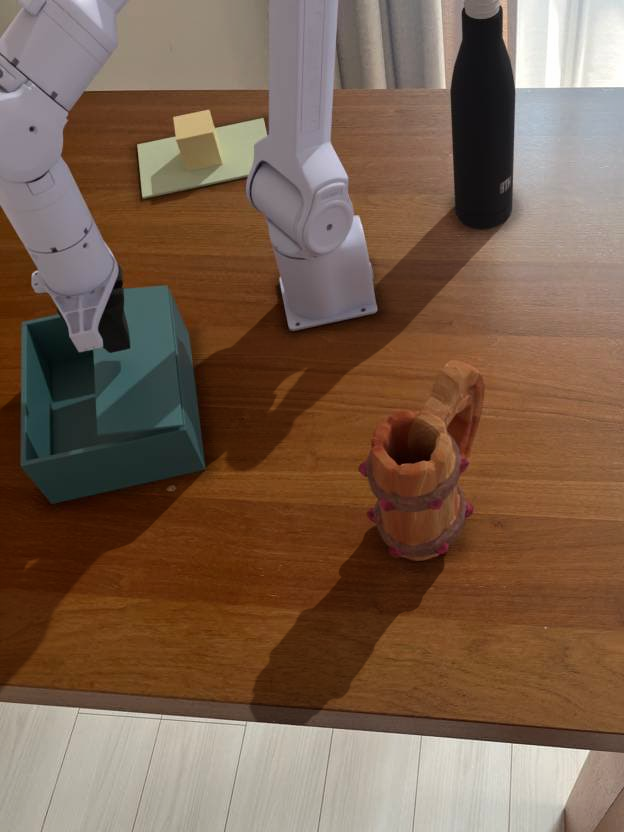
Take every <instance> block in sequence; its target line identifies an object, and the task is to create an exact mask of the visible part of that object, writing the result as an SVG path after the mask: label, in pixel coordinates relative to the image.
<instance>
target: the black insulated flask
mask: <svg viewBox="0 0 624 832" xmlns="http://www.w3.org/2000/svg"><path fill="white" fill-rule="evenodd" d="M501 2H502V1H501V0H464V1H463V8H462V10H461V42H460V45H459V47H458V48H459V49H458V51H457V55H456V59H455V62H454V64H453V69H452V76H451V82H450V83H451V84H450V90H449V93H450V113H451V114H450V118H451V142H452V144H451V145H452V166H453V189H454V212H455V216H456V218H457V220H458V221H459V222H460V223H461V224H463V225H464V226H466V227H468V228H471V229H476V230H489V229H494V228H497V227H499V226H501V225H502V224H504V223H506V221H508V219H509V218H510V217H511V214H512V212H513V196H514V165H515V164H514V163H515V162H514V158H515V157H514V156H515V129H516V128H515V127H516V126H515V125H516V124H515V123H516V122H515V121H516V86H515V85H516V84H515V77H514V72H513V66H512V62H511V57H510V55H509V52H508V49H507V46H506V44H505V40H504V38H503V36H504V35H503V34H504V33H503V32H504V29H503V27H504V9H503V7H502V5H501Z"/></svg>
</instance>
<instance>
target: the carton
mask: <svg viewBox="0 0 624 832" xmlns="http://www.w3.org/2000/svg"><path fill="white" fill-rule="evenodd" d="M168 293H169V302H170V311H171V320H172V330H173V339H174V348H175V357H176V366H177V375H178V384H179V394H180V403H181V412H182V421H183V427H175V428H166V429H157V430H148V431H139V432H131V433H122V434H113V435H104V436H98V435H97V418H96V397H95V376H94V355H93V350H89V351H83V352H78V350H77V348H76V347H75V345H74V343H73V342H72V340H71V338H70V337H69V329H68V325H67V323H65V322H64V321H63V320H62V319H61V317H60V316H59V314H58V313H57V314H53V315H48V316H44V317H39V318H35V319H30V320H26V321H22V322H21V336H20V337H21V346H20V347H21V348H20V349H21V350H20V351H21V353H20V356H21V359H20V360H21V362H20V363H21V364H20V468H21V469H22V470H23V471H24V472H25V473H26V474H27V476H28V477H29V478H30V480H31V481H32V482H33V483H34V484H35V486H36V487H37V488H38V490H40V492H41V493H42V494H43V495H44V497H45V498H46V499H47V500H48V502H49V503H50V504H51V505H54V504H59V503H63V502H68V501H72V500H77V499H81V498H86V497H89V496H90V497H91V496H94V495H99V494H103V493H107V492H112V491H116V490H121V489H126V488H130V487H134V486H138V485H139V486H140V485H144V484H147V483H153V482H156V481H162V480H166V479H170V478H176V477H179V476H184V475H188V474H192V473H197V472H201V471H205V470H206V461H205V452H204V445H203V438H202V437H203V436H202V430H201V429H202V428H201V421H200V412H199V406H198V405H199V404H198V396H197V388H196V387H197V386H196V379H195V372H194V364H193V355H192V346H191V339H190V333H189V331H188V328H187V326H186V324H185V321H184V319H183V317H182V314H181V312H180V309H179V307H178V305H177V303H176V300H175V298H174V296H173V294H172V292H171V290H170V289H168Z"/></svg>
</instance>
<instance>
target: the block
mask: <svg viewBox="0 0 624 832" xmlns="http://www.w3.org/2000/svg"><path fill="white" fill-rule="evenodd" d="M172 121H173V128H174V135H175V136H174V137H176V141H177V144H178V147H179V150H180V153H181V156H182V159H183V162H184V164H185V167H186V170H187V172H189V171H194V170H198V169H203V168H208V167H212V166H217V165H222V164H223V162H222V156H221V150H220V144H219V140H218V137H217V133H216V130H215V128H216V127H215V124H214V120H213V117H212V114H211V110H210V109H205V110H200V111H196V112H190V113H185V114H182V115H176V116H173V117H172Z"/></svg>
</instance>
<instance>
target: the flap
mask: <svg viewBox="0 0 624 832" xmlns="http://www.w3.org/2000/svg"><path fill="white" fill-rule="evenodd" d="M168 290H169V286H168V285H167V284H165V285H153V286H143V287H131V288H124V312H125V316H126V320H127V324H128V328H129V335H130V349H127V350H122V351H117V352H113V353H109V352H108V351H106V350H105V349H104V348H103V347H101V348H97V349H93V355H94V376H95V397H96V418H97V435H98V436H104V435H113V434H122V433H131V432H139V431H148V430H157V429H166V428H175V427H183V421H182V412H181V403H180V394H179V384H178V375H177V366H176V357H175V348H174V339H173V330H172V320H171V311H170V302H169V293H168Z"/></svg>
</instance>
